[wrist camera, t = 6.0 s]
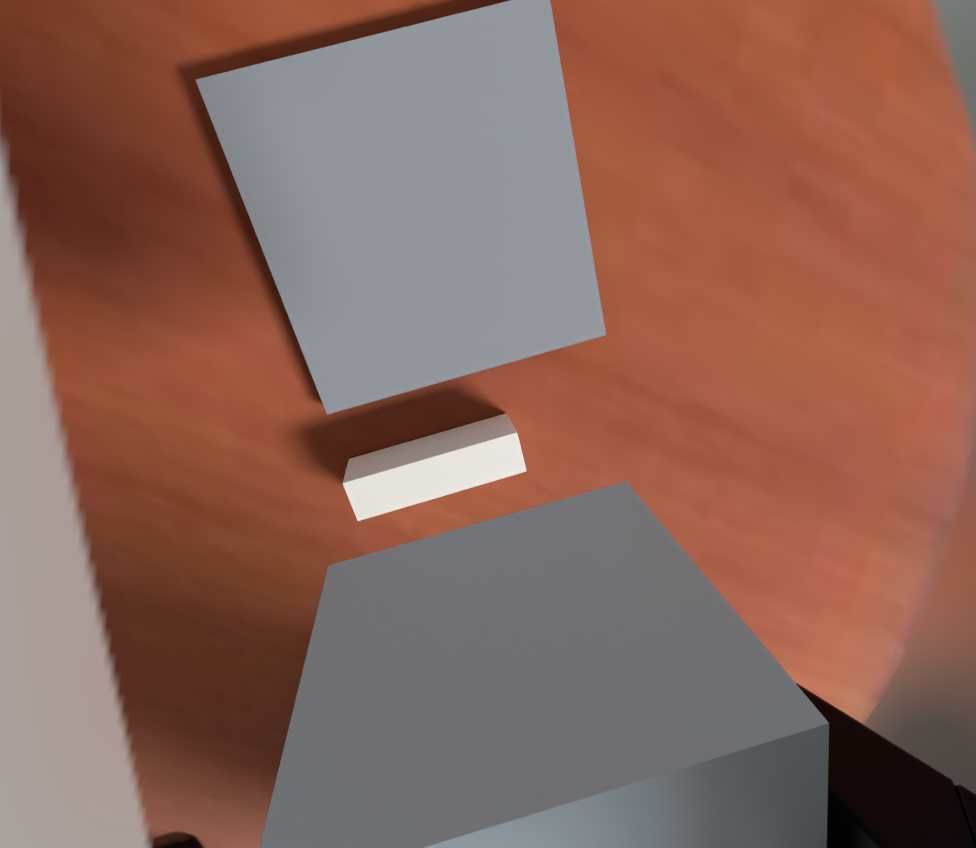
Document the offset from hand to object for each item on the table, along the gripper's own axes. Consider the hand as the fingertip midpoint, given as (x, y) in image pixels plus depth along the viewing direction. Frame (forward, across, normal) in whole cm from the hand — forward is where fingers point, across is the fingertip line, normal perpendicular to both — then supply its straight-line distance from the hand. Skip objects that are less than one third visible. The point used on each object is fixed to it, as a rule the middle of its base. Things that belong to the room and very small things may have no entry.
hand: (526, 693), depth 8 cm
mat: (+12, -1, -7) cm, 14 cm away
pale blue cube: (+1, 0, 0) cm, 1 cm away
